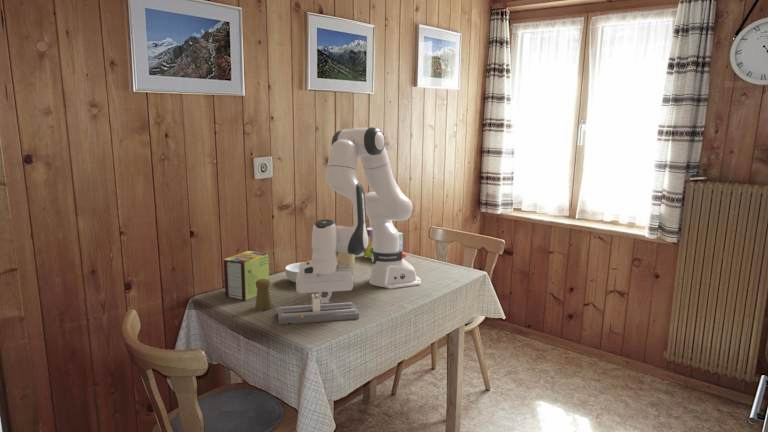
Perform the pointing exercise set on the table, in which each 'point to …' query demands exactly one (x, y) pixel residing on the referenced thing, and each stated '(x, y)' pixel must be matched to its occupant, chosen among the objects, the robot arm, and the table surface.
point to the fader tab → (315, 303)
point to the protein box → (245, 274)
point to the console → (317, 313)
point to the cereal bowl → (292, 271)
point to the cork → (263, 295)
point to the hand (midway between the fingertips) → (324, 303)
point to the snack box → (370, 242)
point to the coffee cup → (345, 259)
